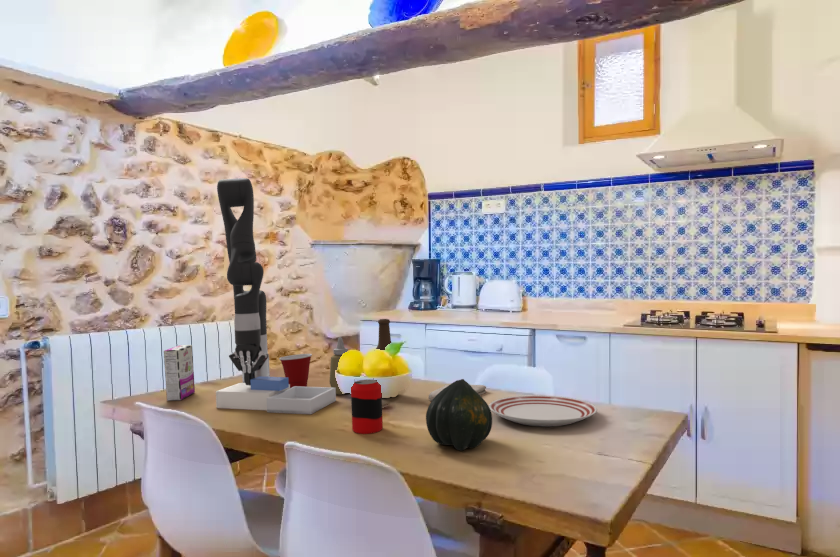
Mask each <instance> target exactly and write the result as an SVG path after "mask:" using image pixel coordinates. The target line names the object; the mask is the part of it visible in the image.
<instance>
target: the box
mask: <svg viewBox="0 0 840 557" xmlns="http://www.w3.org/2000/svg"><path fill="white" fill-rule="evenodd" d="M266 399H267V410H266V413H275V414H276V413H277V414H293V415H294V414H295V415H296V414H297V415H313V414H315V413H316V412H318V411H320V410H322V409H324V408H325V407H327V406H329V405H330V404H333V403H335V402H336V401H337V394H336V388H332V387H331V386H329V387H328V386H327V387H325V386H324V387H323V386H322V387H321V386H307V387H301V386H294V387H292V388H290V389H287V390H285V391H282V392H280V393H278V394H275V395H273V396H271V397H268V398H266Z"/></svg>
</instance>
